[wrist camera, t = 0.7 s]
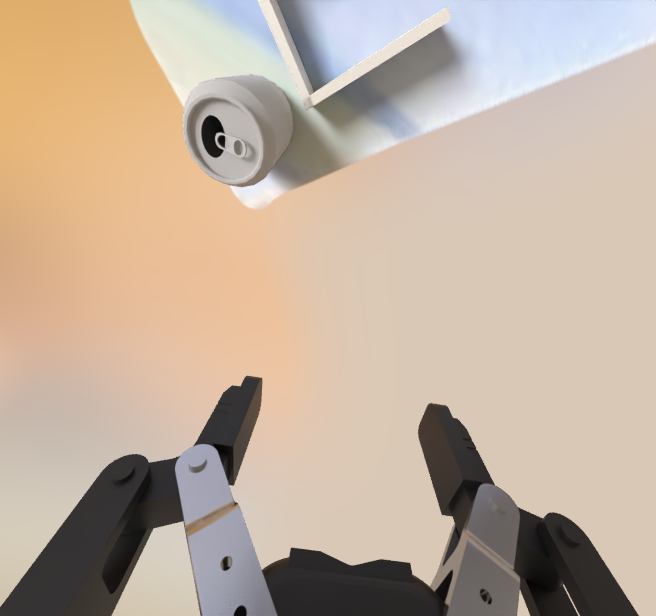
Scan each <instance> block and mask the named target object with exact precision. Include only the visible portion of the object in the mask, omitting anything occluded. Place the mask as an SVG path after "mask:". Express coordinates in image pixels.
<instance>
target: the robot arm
mask: <svg viewBox="0 0 656 616" xmlns="http://www.w3.org/2000/svg"><path fill="white" fill-rule="evenodd" d="M261 396H262V378H258V377H251V376H246V377H245V378H244V380H243V382H242V385H241V387H240V386H231V387H230V388H229V389H227V390H226V391H225V392H224V393H223V394H222V396H221V398H220V400H219V402H218V404H217V405H216V407H215V409H214V412H213V413H212V415H211V417H210V418H209V420H208V422H207V424H206V425H205V427H204V429H203V431H202V433H201V434H200V436H199V438H198V440H197V442H196V443H195V445H194V446H193V447H191V448H189V449H188V450H186V451H185V452H183V454H182V455H181V456H179V457H176V458H173V459H169V460H163V461H157V462H151V463H149V462H148V460H147V459H146V457H144V456H142V455H138V454H132V455H127V456H123V457H121V458H119V459H117V460H115V461H113V462H112V463H110V464H109V465H108V466H107V467H106V468H105V469H104V470H103V471H102V472H101V473H100V475H99V476H98V477H97V479H96V480H95V481H94V483H93V484H92V485H91V487H90V488H89V489H88V491H87V492H86V494H85V495H84V496H83V497H82V499H81V500H80V501H79V503H78V504H77V506H76V507H75V508H74V510H73V511H72V512H71V514H70V515H69V516H68V518H67V519H66V520H65V522H64V523H63V524H62V526H61V527H60V528H59V530H58V531H57V532H56V534H55V535H54V536H53V538H52V539H51V540H50V542H49V543H48V544H47V546H46V547H45V548H44V550H43V551H42V552H41V554H40V555H39V556H38V558H37V559H36V561H35V562H34V563H33V564H32V566H31V567H30V568H29V570H28V571H27V572H26V574H25V575H24V576H23V578H22V579H21V580H20V582H19V583H18V584H17V586H16V587H15V588H14V590H13V591H12V592H11V594H10V595H9V597H8V598H7V599H6V600H5V602H4V603H3V604H2V606H1V607H0V616H111V615H112V613H113V611H114V609H115V607H116V605H117V603H118V601H119V599H120V596H121V594H122V592H123V590H124V588H125V586H126V584H127V582H128V580H129V578H130V576H131V574H132V572H133V570H134V568H135V565H136V563H137V561H138V559H139V557H140V555H141V553H142V551H143V549H144V547H145V545H146V543H147V540H148V539H149V536H150V534H151V532H152V530H153V528H157V527H161V526H165V525H169V524H173V523H178V522H182V521H184V527H185V532H186V538H187V543H188V549H189V554H190V559H191V565H192V570H193V575H194V582H195V587H196V593H197V599H198V604H199V610H200V615H201V616H517V609H518V601H519V591H520V590H521V593H522V595H523V598H524V600H525V603H526V606H527V608H528V611H529V613H530V616H578V614H577V612H576V610H575V608H574V606H573V604H572V602H571V601H570V599H569V597H568V595H567V593H566V591H565V589H564V587H563V584H564V585H565V587H566V589H567V591H568V593H569V595H570V597H571V599H572V601H573V603H574V605H575V607H576V609H577V611H578V613H579V615H580V616H639V615H638V614H637V612H636V611H635V609H634V608H633V606H632V605H631V603H630V601H629V600H628V599H627V597H626V595H625V594H624V592H623V591H622V589H621V588H620V586H619V584H618V583H617V581H616V580H615V578H614V577H613V575H612V574H611V572H610V570H609V569H608V567H607V566H606V565H605V563H604V561H603V560H602V558H601V557H600V555H599V553H598V552H597V550H596V549H595V547H594V546H593V544H592V543H591V541H590V540H589V538H588V537H587V536H586V534H585V533H584V532H583V531H582V530H581V529H580V528H579V527H578V526H577V525H576V524H575V523H574V522H572V521H571V520H570V519H568V518H567V517H565V516H563V515H561V514H558V513H548V514H547V515H546V516H545V517H544V518H543V519H542V518H540V517H538V516H536V515H534V514H531V513H529V512H527V511H525V510H523V509H520V508H519V507H517V505H516V504H515V502H514V501H513V500H512V498H511V497H510V496H509V495H508V494H507V493H506V492H505V491H503V490H502V489H500V488H499V487H497V486H495V484H494V482H493V480H492V479H491V477H490V475H489V473H488V471H487V469H486V467H485V465H484V463H483V461H482V459H481V457H480V455H479V453H478V451H477V450H476V447H475V445H474V443H473V442H472V439H471V437H470V435H469V433H468V431H467V429H466V428H465V427H464V425H463V424H462V423H461V422H460V421H459V420H458V419H456V418H453V417H452V415H451V413H450V410H449V408H448V407H447V406H446V405H439V404H432V403H431V404H429V405H428V406H427V408H426V410H425V413H424V415H423V417H422V420H421V422H420V425H419V429H418V435H419V441H420V444H421V447H422V450H423V454H424V457H425V460H426V464H427V467H428V470H429V474H430V477H431V480H432V484H433V487H434V490H435V493H436V497H437V500H438V503H439V507H440V510H441V513H442V515H446V516H453V519H454V522H455V524H454V526H453V527H452V530H451V533H450V536H449V539H448V542H447V545H446V548H445V551H444V554H443V557H442V560H441V563H440V566H439V569H438V571H437V574H436V576H435V578H434V580H433V582H432V584H431V586H430V587H429V586H428V585H427V584H426V583H424V582H423V581H422V580H420V579H419V578H417V577H416V576H414V575H412V570H411V565H410V563H405V562H398V561H390V560H383V559H381V560H376V561H371V562H367V563H363V564H359V565H353V566H351V565H348V564H346V563H344V562H341V561H339V560H337V559H335V558H333V557H331V556H329V555H327V554H325V553H323V552H321V551H314V550H313V551H312V550H306V549H298V548H291V551H290V556H289V557H288V558H284V559H281V560H278V561H276V562H274V563H272V564H270V565H268V566H267V567H265V568H264V569H263V570H261V567H260V564H259V561H258V558H257V555H256V553H255V549H254V547H253V544H252V541H251V538H250V535H249V532H248V529H247V526H246V523H245V520H244V517H243V515H242V512H241V509H240V507H239V505H238V503H235V501H234V499H233V496H232V493H231V490H230V487H229V485H234V484H235V480H236V477H237V475H238V472H239V469H240V466H241V464H242V461H243V458H244V455H245V452H246V449H247V446H248V443H249V441H250V438H251V435H252V432H253V429H254V426H255V423H256V421H257V418H258V415H259V411H260V406H261Z"/></svg>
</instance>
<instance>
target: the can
mask: <svg viewBox="0 0 656 616" xmlns="http://www.w3.org/2000/svg"><path fill="white" fill-rule="evenodd" d="M183 114H184V115H183V132H184V138H185V143H186V145H187V147H188V150H189V152H190V154H191V156H192V158H193V159H194V160H195V162H196V163H197V164H198V166H199V167H200V168H201V169H202V170H203V171H204V172H206V173H207V174H208V175H209V176H210V177H212V178H213V179H215V180H218V181H220V182H222V183H224V184H228V185H231V186H238V187H245V186H251V185H255V184H256V183H258V182H259V181H261V180H263V179H264V178H265V177H266V176H267V174H268V173H269V172H270V170H271V169H272V167H273V166H274V165H275V163H276V162H277V160H278V159H279V158H280V156H281V155H282V153H283V152H284V151H285V149H286V148H287V147H288V145H289V143H290V140H291V137H292V134H293V116H292V111H291V107H290V105H289V103H288V101H287V99H286V97H285V95H284V93H283V92H282V91H281V90H280V89H279V88H278V87H277V85H276V84H275V83H273V82H272V81H270V80H268V79H267V78H265V77H263V76H257V75H252V74H250V75H241V76H232V77H223V78H215V79H212V80H208V81H204V82H201V83H200V84H199V85H198V86H197V87H196V88H194V89H193V90H192V91H191V92H190V94H189V96H188V99H187V101H186V103H185V105H184V113H183Z"/></svg>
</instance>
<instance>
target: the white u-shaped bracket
mask: <svg viewBox="0 0 656 616" xmlns="http://www.w3.org/2000/svg"><path fill="white" fill-rule="evenodd" d="M258 2H259V4H260V6H261V9H262V11H263V13H264V16H265V18H266V20H267V22H268V25H269V27H270V29H271V31H272V34H273V36H274V38H275V41H276V43H277V45H278V47H279V50H280V52H281V54H282V56H283V59H284V61H285V63H286V66H287V68H288V70H289V72H290V75H291V77H292V79H293V81H294V84H295V86H296V88H297V91H298V93H299V95H300V97H301V100H302V102H303V104H304V106H305V109H306V110H308V109H309V108H311V107H313V106H314V105H316V104H317V103H319V102H321V101H322V100H324V99H325V98H327V97H329V96H330V95H332V94H333V93H335V92H337V91H338V90H340V89H341V88H343V87H345V86H346V85H348V84H349V83H351V82H353V81H354V80H356V79H357V78H359V77H361V76H362V75H364V74H365V73H367V72H369V71H370V70H372V69H373V68H375V67H377V66H378V65H380V64H381V63H383V62H385V61H386V60H388V59H389V58H391V57H393V56H394V55H396V54H397V53H399V52H401V51H402V50H404V49H405V48H407V47H409V46H410V45H412V44H413V43H415V42H417V41H418V40H420V39H421V38H423V37H425V36H426V35H428V34H429V33H431V32H433V31H434V30H436V29H437V28H439V27H441V26H442V25H444V24H445V23H447V22H449V21H450V13H449V7H447V8H445V9H443V10H441V11H440V12H438V13H436V14H434V15H433V16H431V17H430V18H428V19H427V20H425V21H423V22H422V23H420V24H419V25H417V26H416V27H414V28H413V29H411V30H409V31H408V32H406V33H405V34H403V35H402V36H400V37H399V38H397V39H395V40H394V41H392V42H391V43H389V44H388V45H386V46H385V47H383V48H381V49H380V50H378V51H377V52H375V53H374V54H372V55H371V56H369V57H367V58H366V59H364V60H363V61H361V62H360V63H358V64H357V65H355V66H354V67H352V68H350V69H349V70H347V71H346V72H344V73H343V74H341V75H340V76H338V77H336V78H335V79H333V80H332V81H330V82H329V83H327V84H326V85H324V86H322V87H321V88H319V89H318V90H316V91H315V92H314V90H313V88H312V85H311V83H310V81H309V78H308V76H307V73H306V71H305V68H304V66H303V64H302V61H301V59H300V56H299V54H298V51H297V49H296V46H295V44H294V42H293V39H292V37H291V34H290V32H289V29H288V27H287V24H286V22H285V20H284V17H283V15H282V12H281V10H280V7H279V5H278V2H277V0H258Z"/></svg>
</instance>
